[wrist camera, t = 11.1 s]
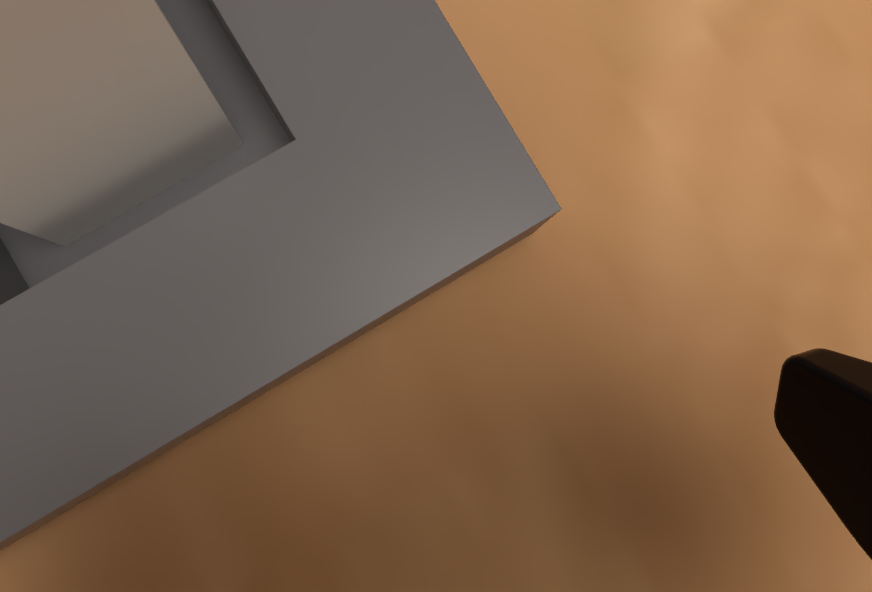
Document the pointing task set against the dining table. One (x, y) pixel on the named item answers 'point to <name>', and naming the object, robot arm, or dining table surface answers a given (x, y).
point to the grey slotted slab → (255, 239)
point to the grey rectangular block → (97, 113)
